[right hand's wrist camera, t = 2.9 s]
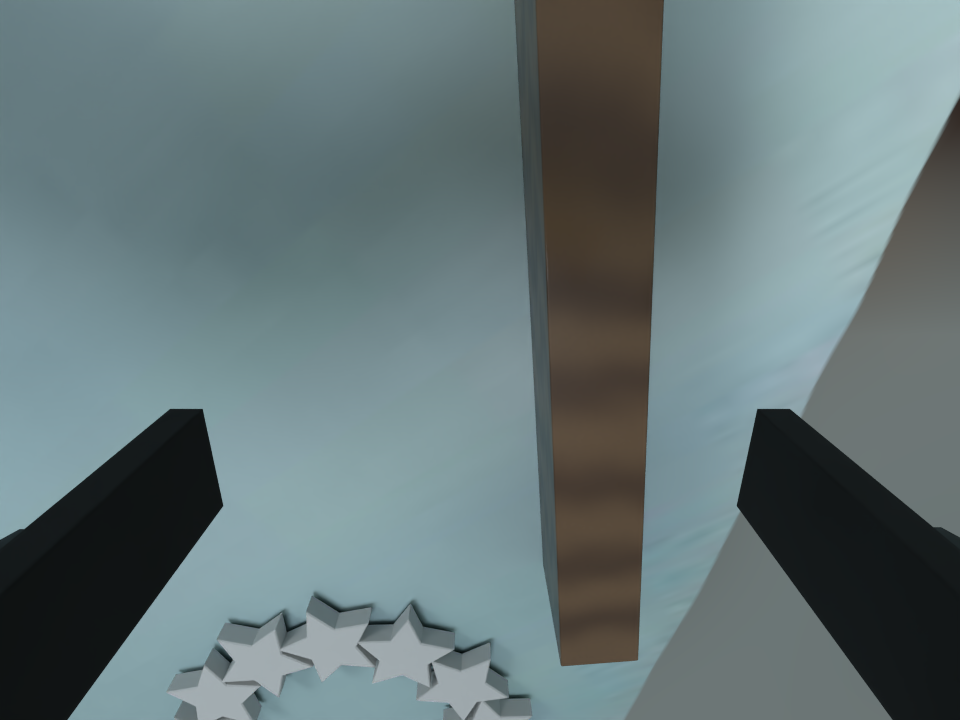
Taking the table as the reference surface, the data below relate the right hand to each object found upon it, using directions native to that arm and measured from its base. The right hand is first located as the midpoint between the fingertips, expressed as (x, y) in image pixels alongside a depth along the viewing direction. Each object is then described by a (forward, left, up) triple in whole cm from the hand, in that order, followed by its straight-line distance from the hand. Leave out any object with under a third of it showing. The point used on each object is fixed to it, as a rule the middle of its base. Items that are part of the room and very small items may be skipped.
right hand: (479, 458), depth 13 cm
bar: (+18, +6, -19) cm, 27 cm away
